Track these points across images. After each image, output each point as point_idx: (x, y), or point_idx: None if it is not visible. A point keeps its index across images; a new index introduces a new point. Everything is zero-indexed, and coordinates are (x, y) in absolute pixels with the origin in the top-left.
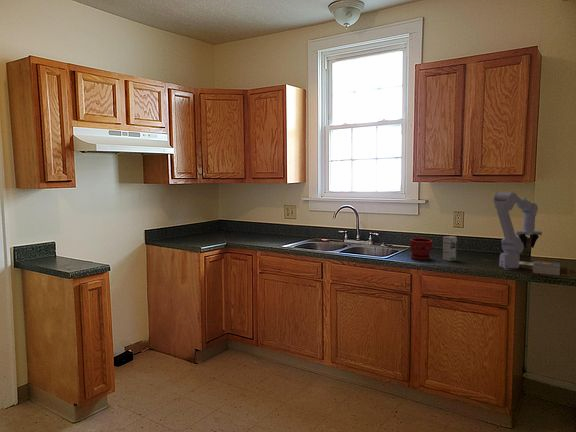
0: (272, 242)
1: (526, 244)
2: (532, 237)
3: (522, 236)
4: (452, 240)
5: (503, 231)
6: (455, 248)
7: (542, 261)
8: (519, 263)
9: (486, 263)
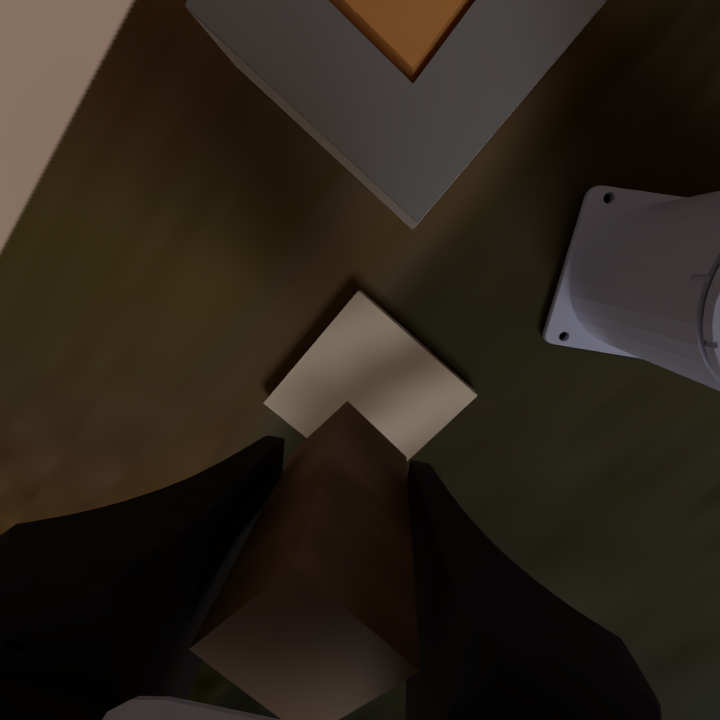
0: None
1: (387, 501)
2: (172, 637)
3: (657, 713)
4: None
5: None
6: None
7: (346, 151)
8: (431, 404)
9: (670, 523)
